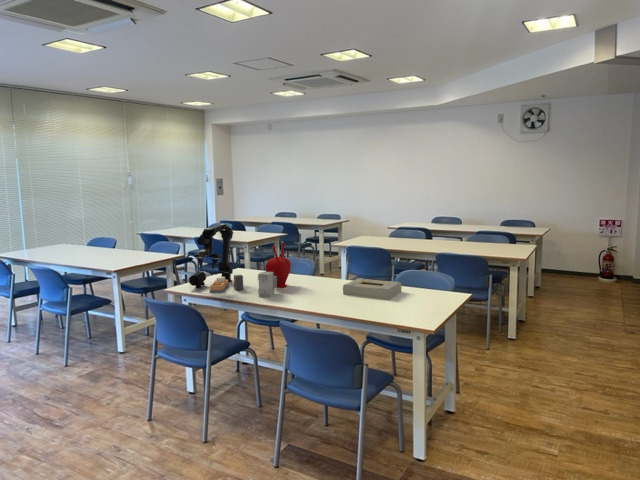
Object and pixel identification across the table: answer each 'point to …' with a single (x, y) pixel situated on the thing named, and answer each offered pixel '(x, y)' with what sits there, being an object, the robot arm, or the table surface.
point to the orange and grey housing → (219, 285)
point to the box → (372, 288)
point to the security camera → (197, 279)
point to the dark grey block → (238, 282)
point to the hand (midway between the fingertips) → (206, 268)
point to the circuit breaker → (267, 284)
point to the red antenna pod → (279, 268)
